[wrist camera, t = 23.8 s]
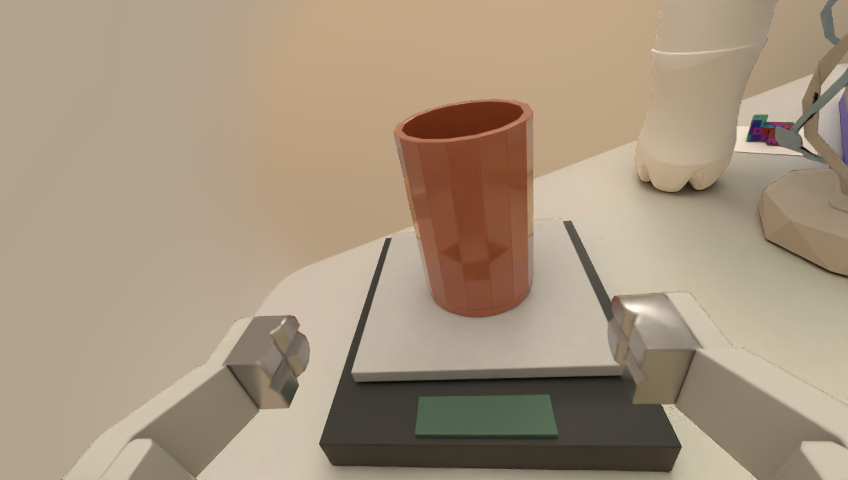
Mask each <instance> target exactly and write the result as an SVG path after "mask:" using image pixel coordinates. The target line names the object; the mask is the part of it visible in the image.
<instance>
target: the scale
mask: <svg viewBox="0 0 848 480" xmlns="http://www.w3.org/2000/svg"><path fill="white" fill-rule="evenodd" d="M533 241H534V275H533V283H532V288H531V290H530V292H529V294H528V295H527V297H526V298H525V299H524V300H523V301H522V302H521V303H520V304H519V305H517V306H516V307H514V308H512V309H511V310H509V311H506V312H504V313H501V314H498V315H493V316H488V317H466V316H461V315H457V314H454V313H451V312H449V311H447V310H445V309H443V308H442V307H440V306H439V305H438V304H437V303H436V302H435V301H434V300H433V298H432V297H431V295H430V292H429V289H428V285H427V283H426V279H425V275H424V270H423V265H422V261H421V256H420V252H419V247H418V242H417V238H416V233H415V232H407V233H397V234H393V235H392V238H386V240H385V243H384V246H383V249H382V252H381V255H380V258H379V261H378V264H377V267H376V270H375V273H374V277H373V280H372V283H371V286H370V289H369V292H368V295H367V298H366V301H365V304H364V307H363V310H362V314H361V317H360V320H359V323H358V326H357V329H356V332H355V335H354V338H353V341H352V344H351V347H350V350H349V354H348V357H347V360H346V363H345V366H344V369H343V372H342V375H341V378H340V381H339V384H338V387H337V390H336V394H335V397H334V400H333V403H332V406H331V409H330V412H329V415H328V418H327V421H326V424H325V427H324V431H323V434H322V437H321V440H320V443H319V445H320V446H321V448H322V450H323V451H324V453H325V454H326V456H327V457H328V459H329V461H330V462H331V464H332V465H359V466H416V467H474V468H531V469H588V470H645V471H671V470H672V468H673V466H674V464H675V461H676V459H677V457H678V454H679V452H680V450H681V447H682V446H681V444H680V442H679V440H678V438H677V436H676V434H675V432H674V430H673V428H672V426H671V423H670V421H669V419H668V417H667V415H666V413H665V411H664V409H663V407H662V405H661V404H633V403H632V400H631V398H630V396H629V393H628V391H627V389H626V387H625V384H624V382H623V380H622V372H623V367H622V366H621V365H620V364H618V363H617V362H616V361H614V358H613V356H612V353H611V351H610V347H609V343H608V335H607V329H608V321H609V320H611V319H612V318H613V317H614V314H613V312H612V310H611V301H610V299H609V297H608V295H607V293H606V291H605V289H604V287H603V285H602V283H601V281H600V279H599V277H598V275H597V273H596V271H595V269H594V267H593V265H592V262H591V260H590V258H589V256H588V254H587V252H586V250H585V248H584V246H583V244H582V242H581V240H580V238H579V236H578V234H577V232H576V230H575V228H574V226H573V224H572V222H571V221H562V219H561V218H552V219H541V220H533Z"/></svg>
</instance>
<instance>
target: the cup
mask: <svg viewBox="0 0 848 480" xmlns="http://www.w3.org/2000/svg"><path fill="white" fill-rule="evenodd" d="M394 137H395V141H396V146H397V150H398V155H399V159H400V164H401V169H402V173H403V177H404V183H405V187H406V192H407V196H408V201H409V206H410V210H411V215H412V219H413V224H414V229H415V233H416V238H417V242H418V247H419V252H420V256H421V261H422V265H423V270H424V275H425V279H426V283H427V285H428V289H429V292H430V295H431V297H432V298H433V300H434V301H435V302H436V303H437V304H438V305H439V306H440V307H442V308H443V309H445V310H447V311H449V312H451V313H454V314H457V315H461V316H466V317H488V316H493V315H498V314H501V313H504V312H506V311H509V310H511V309H512V308H514V307H516V306H517V305H519V304H520V303H521V302H522V301H523V300H524V299H525V298H526V297H527V295H528V294H529V292H530V290H531V288H532V283H533V275H534V241H533V111H532V109H531V108H530V106H529V105H528V104H525V103H522V102H519V101H515V100H503V99H486V100H473V101H465V102H459V103H453V104H448V105H443V106H440V107H436V108H432V109H428V110H425V111H423V112H420V113H417V114H415V115H412V116H410V117H408V118H407V119H405V120H404V121H402V122H400V123H399V124H398V125H397V127H396V128H395V130H394Z"/></svg>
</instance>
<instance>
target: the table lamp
mask: <svg viewBox="0 0 848 480" xmlns="http://www.w3.org/2000/svg"><path fill="white" fill-rule="evenodd" d="M836 1H837V0H829V1H828V2H827V4H826V5H825V7H824V9H823V10H822V12H821V13H820V15H821V20H822V25H823V29H824V34H825V37H826V38H827V39H828V40H829V41H830V42H831V43H832V44H835V46H834V47H833V48H832V49H831V50H830V51H829V52H828V53H827V54H826V56H824V57H823V59H822V60H821V61H820V62H819V64H818V66H817V68H816V70H815V73H814V75H813V77H812V80H811V82H810V84H809V86H808V89H807V91H806V93H805V95H804V98H803V100H802V107H803V115H802V116H801V117H800V118H799V119H798V120H797V122H796V123H795V124H794V125H793V126H792V127H791V128H790V131H789V130H787V129H785V128H782V127H779V126H776V131H775V138H776V141H777V142H778V143H779V145H780V146H781V147H784V148H787V149H790V150H793V151H796V152H799V153H802V154H803V155H804V156H805V157H806V158H807V159H811V160H814V161H818V162H822V163H826V164H828V165H829V166H830V167H831V168H824V169H808V170H792V171H791V172H789V173H788V174H786V175H785V176H783V177H781V178H780V179H778V180H777V181H775V182H774V183H772V184H771V185H769V186H768V187H766V188H765V189H763V191H762V194H761V197H760V200H759V203H758V209H759V213H760V217H761V222H762V226H763V230H764V234H765V238H766V239H768V240H770V241H772V242H774V243H776V244H778V245H780V246H782V247H784V248H786V249H788V250H790V251H791V252H793V253H795V254H797V255H799V256H801V257H803V258H805V259H807V260H809V261H811V262H813V263H815V264H817V265H819V266H821V267H823V268H825V269H827V270H829V271H832V272H836V273H839V274H843V275H847V276H848V166H847V165H846V164H845V163H844V162H843V161H842V160H841V159H840V158H839V156H838V155H837V154H836V153H835V152H834V151H833V150H832V149H831V148H830V146H829V145H828V144H827V143H826V142H825V141H824V140H823V139H822V138H821V137H820V135H819V134H818V133H817V132H818V119H819V110H820V109H821V108H822V107H823V106H824V105H825V104H826V103H828V102H829V101H830V100H831V99H832V98H833V97H834V96H835V95H836V94H837V93H838V92H839V91H840V90H841V89H842V88H844V87H846V86H848V68H847V70H846V71H845V73H844V74H843V75H842V76H841V77H840V78H839V79H838V80H837V81H836V82H835V83H834V84H833V85H832V86H831V87H830V88H829V89H828V90H827V91H826V92H825V93H824V94H823V95H822V96H821V97H820V93H821V85H822V84H823V82H824V81H825V80H826V78H827V77H828V76H829V74H830V73H831V72H832V70H833V69H834V68H835V67H836V65H837V64H838V63H839V61H840V60H841V59H842V57H843V56H844V55H845V53H846V52H847V51H848V32H847V33H846V34H845V35H844V36H843V38H842V39H839V38H837V37H835V33H834V26H833V18H832V11H831V7H832V6H833V5H834V4H835V2H836ZM802 126H804V137H805V138H806V140H807V141H808V142H809V143H810V144H811V145H812V146H813V148H814V149H815V150H816V151H817V152H818V153H819V154H820V156H819V155H816V154H813V153H812V152H810V151H809V150H808V149H806V148H805V147H803V146H802V145H801V138H800V136H799V135H798V133H799V131H800V129H801V128H802Z"/></svg>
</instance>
